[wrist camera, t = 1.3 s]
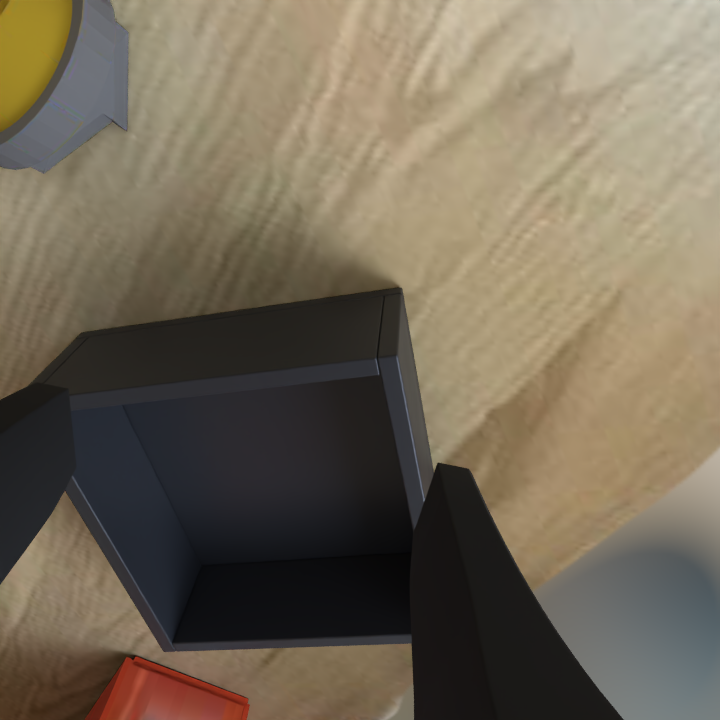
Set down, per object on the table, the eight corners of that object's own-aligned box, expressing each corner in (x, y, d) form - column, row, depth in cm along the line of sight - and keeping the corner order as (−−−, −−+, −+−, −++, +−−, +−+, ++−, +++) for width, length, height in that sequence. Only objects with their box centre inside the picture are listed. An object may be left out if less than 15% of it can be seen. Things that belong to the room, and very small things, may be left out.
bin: (197, 565, 29) (163, 652, 25) (81, 332, 22) (9, 402, 18) (447, 550, 26) (451, 642, 23) (402, 286, 20) (398, 354, 16)
